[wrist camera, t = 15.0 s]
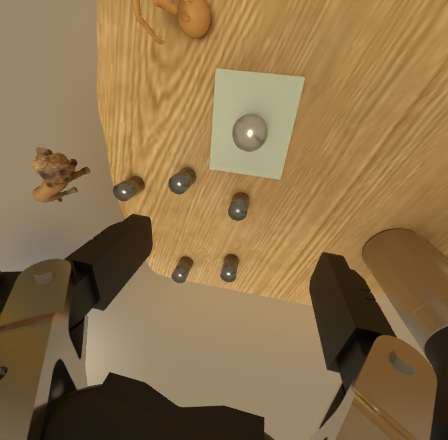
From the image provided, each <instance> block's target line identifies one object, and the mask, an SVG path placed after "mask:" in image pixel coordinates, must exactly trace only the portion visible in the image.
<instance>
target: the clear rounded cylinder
mask: <svg viewBox="0 0 448 440" xmlns="http://www.w3.org/2000/svg"><path fill="white" fill-rule="evenodd" d="M232 137H233V141H234V143H235V144H236V146H237V147H238V148H239V149H241V150H243V151H246V152H252V151H255V150H257V149H259V148H260V147H261V146H262V145H263V144H264V143H265V141H266V138H267V124H266V121H265V119H264V118H263V117H262V116H261V115H260V114H258V113H248V114H246V115H243V116H242V117H240V118H239V119H238V120H237V121H236V122H235V124H234V126H233V130H232Z"/></svg>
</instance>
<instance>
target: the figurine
mask: <svg viewBox="0 0 448 440" xmlns="http://www.w3.org/2000/svg"><path fill="white" fill-rule="evenodd" d="M132 1H133V7H134V12H135V16H136V19H137V21H138V22H139V23H140V24H141V25H142V26H143V27H144V28H145V29H146V30H147V32H148V33H149V34H150V35H151V36H152V37H153V38H154V40H155V41H156V42H158V43H159V44H163V43H162V42H165V41H163V40H161V39H160V38H162V37H157V36H156V35H155V33H154V32H153V30H152V29H151V28H150V27H149V25H148V24H147V23H146V22H145V20H144V19H143V18H142V17H141V9H140V0H132ZM153 3H154V5H155V6H157V7H161V8H162V9H164V10H165V11H167V12H169V13H171V14H173V15H177V16H178V21H179V24H180V27H181V29H182V30H183V32H184V33H185V34H186V35H188V36H189V37H191V38H200V37H202V36H203V35H204V34H205V33H206V32H207V30H208V28H209V25H210V20H211V15H210V9H209V6H208V4H207V2H206V0H180V2H179V5H178V8H177V7H176V5H175V4H174V3H173V2H172V0H153ZM161 41H162V42H161Z"/></svg>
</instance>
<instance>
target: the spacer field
mask: <svg viewBox="0 0 448 440" xmlns="http://www.w3.org/2000/svg"><path fill="white" fill-rule="evenodd" d="M195 179H196V175H195V173H194V171H193V170H192V169H190V168H184V169H182V170H181V171H179V172H178V173H177V174H175V175H174V176H173V177H171V178H170V180H169V188H170V189H171V191H172V192H174V193H176V194H182V193H184V192H185V191H186V190H187V189H188V188H189V187H190V186H191V185H192V184H193V183H194V181H195ZM143 189H144V182H143V180H142V179H141V178H140V177H138V176H133V177H131V178H129V179H127V180H125V181H123V182H121V183H119V184H117V185H116V186H114V189H113V192H114V195H115V197H116V198H117V199H119V200H121V201H127V200H129V199H130V198H132V197H133V196H134V195H136V194H137V193H139V192H140V191H142V190H143ZM248 204H249V198H248V196H247V195H246V194H244V193H236V194H235V195H234V196H233V199H232V201H231V204H230V207H229V210H228V214H229V216H230V217H231V218H232V219H233V220H236V221H240V220H243V219H244V218H245V217H246V215H247V210H248ZM238 261H239V260H238V257H237V256H235V255H233V254H229V255H227V256H226V257H225V260H224V263H223V267H222V271H221V275H220V276H221V278H222V280H224V281H226V282H233V281H234V280H235V279H236V273H237V267H238ZM192 265H193V261H192V259H191V258H189V257H182V258H181V259H180V261H179V263H178V265H177V266H176V268H175V270H174V272H173V274H172V279H173V280H174V281H175V282H178V283H183V282H185V280H186V278H187V276H188V274H189V271H190V269H191V267H192Z"/></svg>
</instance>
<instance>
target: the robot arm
mask: <svg viewBox="0 0 448 440" xmlns="http://www.w3.org/2000/svg"><path fill="white" fill-rule="evenodd" d="M152 245H153V242H152V228H151V219H150V218H149V217H147V216H142V215H137V214H132V215H130V216H129V217H128V218H126V219H125V220H124V221H123V222H118V223H116V224H114V225H111V226H109V227H107V228H106V229H105V230H103V231H102V232H101V233H100V234H98V235H96V236H95V237H94V238H93V239H91V240H90V241H88V242H87V243H86V244H84V245H83V246H81V247H80V248H79V249H78V250H76V251H75V252H73V253H72V254H71V255H69V256H68V257H66V258H65V259H49V260H45V261H41V262H38V263H36V264H34V265H31V266H30V267H28V268H27V269H25V270H24V271H21V272H1V271H0V440H274V439H273V438H272V437H271V436H269V435H268V434H267V433H265V432H264V417H261V416H257V415H254V414H251V413H247V412H243V411H240V410H237V409H234V408H230V407H226V406H204V407H179V406H177V405H175V404H174V403H172V402H171V401H170V400H168V399H167V398H166V397H164V396H163V395H162V394H160V393H159V392H157V391H156V390H155V389H153V388H152V387H150V386H149V385H148V384H146V383H144V382H141V381H138V380H135V379H131V378H128V377H124V376H121V375H118V374H114V373H111V372H109V374H108V376H107V378H106V379H105V381H104V382H103V384H99V385H94V386H89V387H87V377H86V371H85V358H86V343H87V342H86V341H87V327H88V316H87V313H88V312H89V311H90V310H91V309H92V308H95V309H99V310H103V311H104V310H105V309H106V308H107V306H108V305H109V304H110V303H111V301H112V300H113V299H114V298H115V296H116V295H117V294H118V293H119V292H120V290H121V289H122V288H123V287H124V286H125V284H126V283H127V282H128V281H129V279H130V278H131V277H132V276H133V274H134V273H135V272H136V271H137V270H138V268H139V267H140V266H141V265H142V263H143V262H144V261H145V260H146V259H147V257H148V256H149V255H150V253H151V250H152ZM362 255H363V259H364V261H365V263H366V264H367V266H368V268H369V269H370V271H371V272H372V274H373V276H374V277H375V279H376V280H377V282H378V283H379V285H380V286H381V288H382V289H383V291H384V293H385V294H386V296H387V297H388V299H389V300H390V302H391V303H392V305H393V306H394V308H395V310H396V311H397V312H398V314H399V316H400V317H401V319H402V320H403V322H404V323H405V325H406V326H407V328H408V330H409V331H410V333H411V334H412V336H413V337H414V339H415V340H416V342H417V343H418V345H419V346H420V348H421V350H422V351H423V352H424V354H425V356H426V357H427V359H428V360H429V362H430V364H431V365H432V367H433V368H432V367H431V365H430V364H429V362H428V361H427V360H426V359H425V358H424V357H423V356H422V355H421V354H420V353H419V352H418V351H417V350H416V349H415V348H413V347H412V346H411V345H409V344H408V343H406V342H404V341H403V340H401V339H398V338H397V337H396V335H395V333H394V332H393V330H392V328H391V326H390V324H389V323H388V321H387V319H386V317H385V315H384V314H383V312H382V310H381V308H380V307H379V305H378V303H377V302H376V300H375V298H374V296H373V294H372V293H370V291H371V290H370V289H369V287H368V285H367V283H366V282H365V280H364V279H363V278H362V277H361V276H360V275H359V274H358V273H357V272H356V271H355V270H351V269H350V268H349V266H348V264H347V262H346V260H345V258H344V257H343V256H341V255H336V254H331V253H326V252H323V253H322V254H321V256H320V258H319V261H318V263H317V265H316V268H315V270H314V272H313V274H312V277H311V280H310V286H309V290H310V296H311V300H312V305H313V309H314V313H315V318H316V322H317V327H318V331H319V336H320V340H321V345H322V349H323V354H324V358H325V363H326V367H327V370H331V371H335V372H338V373H340V375H341V379H342V382H341V384H340V385H339V386H338V389H337V390H336V392H335V394H334V396H333V398H332V400H331V402H330V404H329V405H328V407H327V409H326V411H325V413H324V415H323V417H322V419H321V421H320V423H319V424H318V426H317V428H316V430H315V432H314V434H313V435H312V437H311V439H310V440H448V257H446V256H445V255H444V254H443V253H442V252H440V251H439V250H438V249H437V248H436V247H434V246H433V245H432V244H431V243H429V242H428V241H424V240H423V239H422V238H421V237H420V236H418V235H417V234H416V233H414V232H412V231H409V230H405V229H393V230H388V231H384V232H382V233H379V234H377V235H376V236H374V237H373V238H371V239H370V240H369V241H368V242H367V244H366V245H365V247H364V249H363V254H362Z"/></svg>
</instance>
